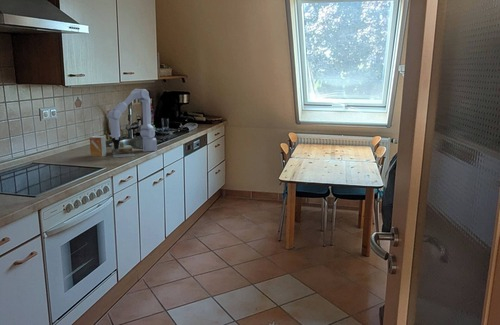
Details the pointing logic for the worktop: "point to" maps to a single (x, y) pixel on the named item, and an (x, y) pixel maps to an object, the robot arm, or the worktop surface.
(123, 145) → the mint green slab
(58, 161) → the worktop surface
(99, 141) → the small box
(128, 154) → the mat
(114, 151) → the open brown box
